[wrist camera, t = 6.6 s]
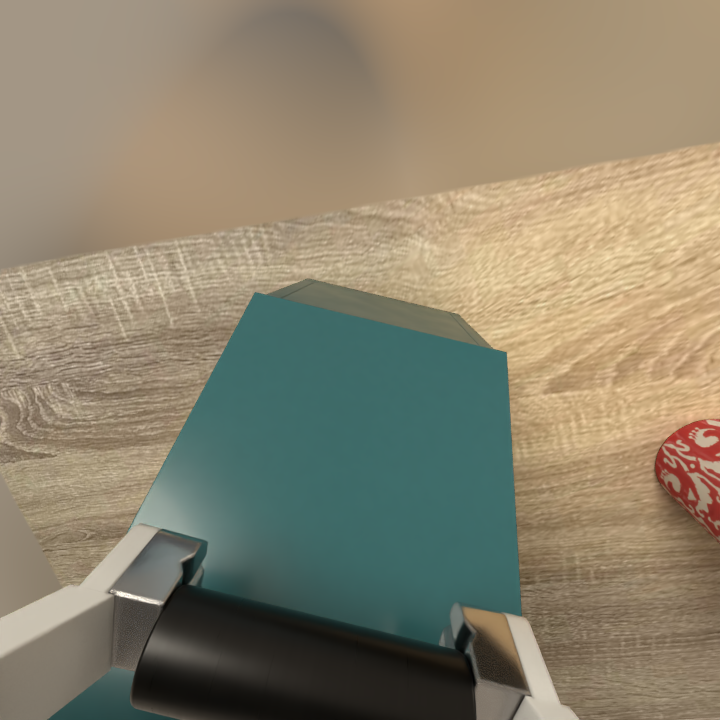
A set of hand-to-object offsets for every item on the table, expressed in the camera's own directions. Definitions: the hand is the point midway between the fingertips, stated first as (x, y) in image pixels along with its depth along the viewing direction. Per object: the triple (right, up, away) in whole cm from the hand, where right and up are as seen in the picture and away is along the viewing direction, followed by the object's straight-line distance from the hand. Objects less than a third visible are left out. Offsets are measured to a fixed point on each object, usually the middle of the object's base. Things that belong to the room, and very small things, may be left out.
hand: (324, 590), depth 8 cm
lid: (0, +1, +5) cm, 5 cm away
